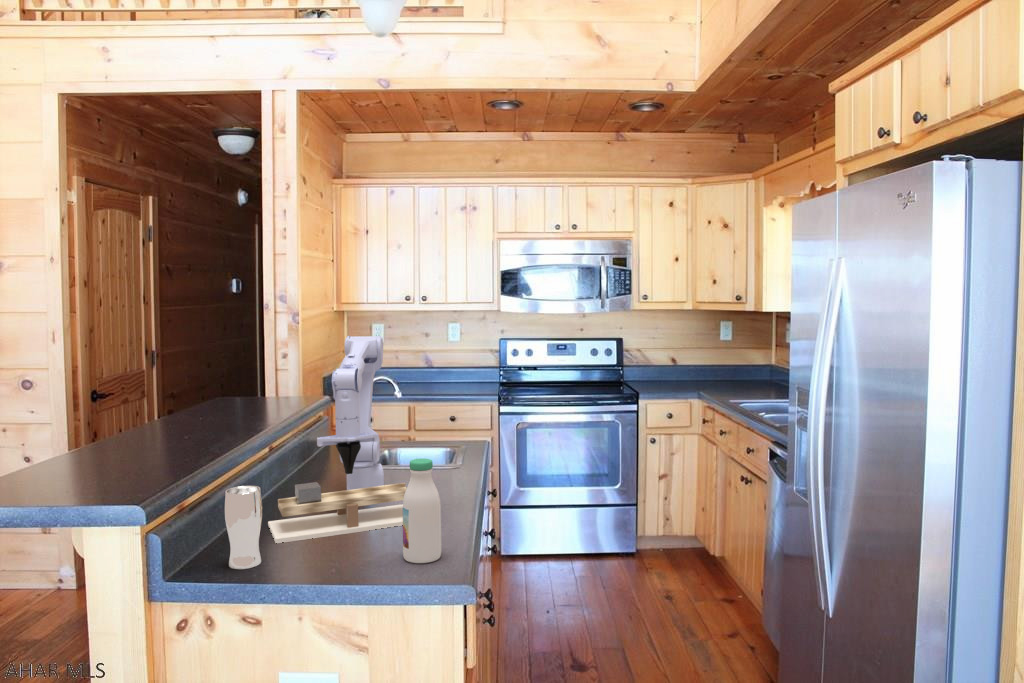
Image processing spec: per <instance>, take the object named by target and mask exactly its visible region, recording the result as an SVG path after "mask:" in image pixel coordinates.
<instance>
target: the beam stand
mask: <svg viewBox="0 0 1024 683" xmlns="http://www.w3.org/2000/svg"><path fill="white" fill-rule="evenodd" d="M402 525H403V503H402V504H395V505H387V506H385V505H384V506H379V507H373V508H372V507H370V508H364V509H359V506H358V504H349V505H346V508H343V509H336V512H332V513H324V514H317V515H309V516H301V517H293V518H292V517H291V518H285V519H278V520H269V521H267V526H268V528H270V529H269V532H270V533H272V534H271V536H272V538H274V539H273V541H274V543H275V544H276V543H277V544H282V542H284V543H289V542H290V543H291V542H296V541H297V542H298V541H304V540H311V539H312V538H313V539H318V538H319V539H320V538H326V537H332V536H339V535H340V536H341V535H347V534H353V533H354V534H355V533H362V532H369V530H370V531H376V530H375V529H377V530H382V529H381V528H384V529H388V528H387V527H391V528H395V527H394V526H398V527H403V526H402Z"/></svg>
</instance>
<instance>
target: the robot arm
mask: <svg viewBox="0 0 1024 683" xmlns="http://www.w3.org/2000/svg"><path fill="white" fill-rule="evenodd" d="M344 355H345V356H344V357H343V358H342V361H341V362H340V365H339V368H336V369H335V370H333V371H332V376H331V387H332V392H333V393H332V394H333V400H335V402H334V403H335V404H334V405H335V434H334V435H333V434H332V435H327V436H320V437H316V446H317V447H324V446H335V447H336V449H337V451H338V454H339V459H340V462H341V463H342V464H343V467H344V474H346V490H352V489H360V488H367V487H375V486H383V485H385V477H384V476H385V475H384V468H383V465H382V464H381V463H379V461H380V456H381V455H380V454H381V444H380V443H381V442H380V441H381V440H380V439H381V438H380V436H379V433H378V432H376V431H375V430H373V428H371V420H372V419H371V418H372V404H373V389H374V388H373V387H374V379H375V374H376V372H377V371H379V370H380V369H382V365H383V358H384V341H383V337H382V336H381V335H376V336H374V335H371V336H367V335H366V336H362V335H361V336H359V335H358V336H351V335H347V336H346V337H345V340H344Z"/></svg>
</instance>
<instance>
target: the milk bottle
mask: <svg viewBox="0 0 1024 683" xmlns="http://www.w3.org/2000/svg"><path fill="white" fill-rule="evenodd" d="M433 465H434V464H433V460H432V459H430V458H414V459H411V460H410V461H409V472H410V479H409V482H408V484H407V487H406V488H407V489H406V492H405V494H404V499H403V500H402V504H403V526H402V555H403V559H404V560H405V561H407V562H408V563H413V564H427V563H432V562H436V561H437V560H439V559H440V558H441V557H442V511H441V510H442V509H441V508H442V507H441V498H440V494H439V491H438V488H437V487H436V484H435V483H434V480H433V475H432V472H433V470H434V469H433Z"/></svg>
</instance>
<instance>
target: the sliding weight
mask: <svg viewBox="0 0 1024 683" xmlns="http://www.w3.org/2000/svg"><path fill="white" fill-rule="evenodd" d="M294 494H295V496H294V497H295V500H296V503H297V505H300V504H307V503H315V502H321V494H322V486H321V485H320V484H319V483H318V481H315V482H314V481H313V482H306V483H300V484H299V483H298V484H294Z"/></svg>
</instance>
